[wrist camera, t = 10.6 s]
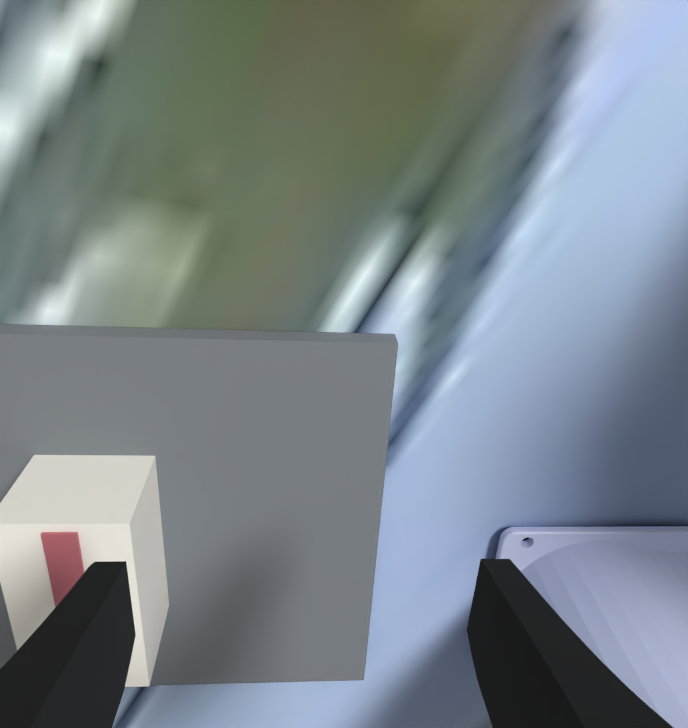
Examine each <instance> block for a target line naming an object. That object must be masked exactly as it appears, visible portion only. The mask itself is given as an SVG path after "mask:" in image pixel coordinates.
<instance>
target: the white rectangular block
mask: <svg viewBox="0 0 688 728" xmlns="http://www.w3.org/2000/svg"><path fill="white" fill-rule="evenodd" d="M113 561H126V564H127V572H128V580H129V588H130V595H131V603H132V611H133V619H134V626H135V634H136V636H135V641H134V646H133V651H132V656H131V660H130V665H129V670H128V674H127V679H126V683H125V687H145V686H150V682H151V678H152V674H153V669H154V665H155V661H156V657H157V653H158V649H159V645H160V641H161V637H162V633H163V629H164V624H165V620H166V616H167V612H168V608H169V598H168V587H167V576H166V566H165V555H164V544H163V533H162V523H161V512H160V501H159V490H158V480H157V469H156V458H155V456H123V455H34V456H33V457H32V459H31V460H30V461H29V463H28V464H27V466H26V467H25V469H24V470H23V471H22V473H21V474H20V476H19V477H18V479H17V480H16V481H15V483H14V484H13V486H12V487H11V489H10V490H9V491H8V493H7V494H6V496H5V497H4V499H3V500H2V501H1V503H0V583H1V587H2V591H3V595H4V599H5V603H6V607H7V611H8V615H9V619H10V623H11V627H12V631H13V635H14V639H15V643H16V647H17V651H18V649H19V648H20V647H21V646H22V645H23V644H24V643H25V642H26V641H27V639H28V638H29V637H30V636H31V635H32V634H33V633H34V632H35V630H36V629H37V628H38V627H39V626H40V625H41V624H42V623H43V621H44V620H45V619H46V618H47V617H48V616H49V614H50V613H51V612H52V611H53V610H54V609H55V607H56V606H57V605H58V604H59V603H60V601H61V600H62V599H63V598H64V597H65V595H66V594H67V593H68V592H69V591H70V589H71V588H72V587H73V586H74V584H75V583H76V582H77V581H78V580H79V578H80V577H81V576H82V575H83V573H84V572H85V571H86V570H87V568H88V567H89V566H90V565H91V564H92V563H94V562H113Z"/></svg>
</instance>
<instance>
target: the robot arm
mask: <svg viewBox="0 0 688 728" xmlns="http://www.w3.org/2000/svg"><path fill="white" fill-rule="evenodd" d="M528 537H529V539H527V540H525V541H522V540H523V539H524V538H528ZM467 633H468V638H469V643H470V648H471V653H472V658H473V662H474V667H475V671H476V676H477V680H478V683H479V686H480V689H481V693H482V696H483V699H484V702H485V705H486V708H487V711H488V714H489V717H490V720H491V723H492V726H493V728H688V526H644V527H510V528H508V529H506V530H504V531H503V532H502V533H501V536H500V539H499V544H498V549H497V553H496V558H495V559H481V561H480V566H479V571H478V576H477V581H476V586H475V592H474V597H473V602H472V607H471V612H470V617H469V622H468V627H467ZM135 636H136V634H135V626H134V619H133V611H132V603H131V595H130V588H129V580H128V572H127V564H126V561H113V562H94V563H92V564H91V565H90V566H89V567H88V568H87V570H86V571H85V572H84V573H83V575H82V576H81V577H80V578H79V580H78V581H77V582H76V583H75V584H74V586H73V587H72V588H71V589H70V591H69V592H68V593H67V594H66V595H65V597H64V598H63V599H62V600H61V601H60V603H59V604H58V605H57V606H56V607H55V609H54V610H53V611H52V612H51V613H50V614H49V616H48V617H47V618H46V619H45V620H44V621H43V623H42V624H41V625H40V626H39V627H38V628H37V629H36V630H35V632H34V633H33V634H32V635H31V636H30V637H29V638H28V639H27V641H26V642H25V643H24V644H23V645H22V646H21V647H20V648H19V649H18V651H17V652H16V653H15V654H14V655H13V656H12V657H11V658H10V659H9V660H8V661H7V662H6V663H5V664H4V666H3V667H2V668H1V669H0V728H112V725H113V722H114V719H115V716H116V713H117V710H118V707H119V704H120V700H121V697H122V694H123V691H124V688H125V683H126V679H127V674H128V670H129V665H130V660H131V656H132V651H133V646H134V641H135Z"/></svg>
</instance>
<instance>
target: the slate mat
mask: <svg viewBox="0 0 688 728" xmlns="http://www.w3.org/2000/svg"><path fill="white" fill-rule="evenodd" d="M397 349H398V342H397V339H396V337H395V334H370V333H331V332H292V331H252V330H213V329H173V328H134V327H95V326H55V325H16V324H0V503H1V501H2V500H3V499H4V497H5V496H6V494H7V493H8V491H9V490H10V489H11V487H12V486H13V484H14V483H15V481H16V480H17V479H18V477H19V476H20V474H21V473H22V471H23V470H24V469H25V467H26V466H27V464H28V463H29V461H30V460H31V459H32V457H33V456H34V455H123V456H155V458H156V469H157V480H158V490H159V501H160V512H161V523H162V533H163V544H164V555H165V566H166V576H167V587H168V598H169V608H168V612H167V616H166V620H165V624H164V629H163V633H162V637H161V641H160V645H159V649H158V653H157V657H156V661H155V665H154V669H153V674H152V678H151V682H150V685H182V684H223V683H265V682H306V681H348V680H364V673H365V663H366V654H367V644H368V634H369V624H370V614H371V604H372V595H373V585H374V575H375V565H376V555H377V546H378V536H379V526H380V516H381V506H382V496H383V487H384V477H385V467H386V457H387V447H388V438H389V428H390V418H391V408H392V398H393V388H394V379H395V369H396V359H397ZM16 652H17V647H16V643H15V639H14V635H13V631H12V627H11V623H10V619H9V615H8V611H7V607H6V603H5V599H4V595H3V591H2V587H1V583H0V669H1V668H2V667H3V666H4V664H5V663H6V662H7V661H8V660H9V659H10V658H11V657H12V656H13V655H14V654H15V653H16Z"/></svg>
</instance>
